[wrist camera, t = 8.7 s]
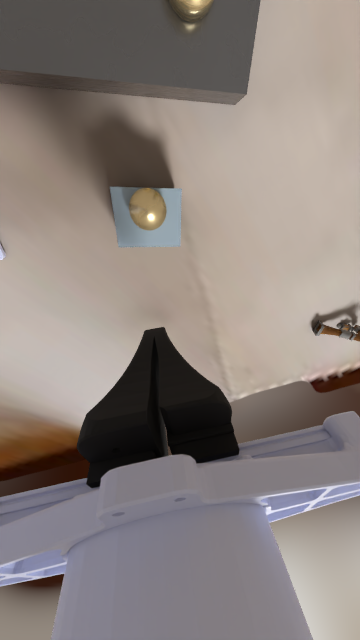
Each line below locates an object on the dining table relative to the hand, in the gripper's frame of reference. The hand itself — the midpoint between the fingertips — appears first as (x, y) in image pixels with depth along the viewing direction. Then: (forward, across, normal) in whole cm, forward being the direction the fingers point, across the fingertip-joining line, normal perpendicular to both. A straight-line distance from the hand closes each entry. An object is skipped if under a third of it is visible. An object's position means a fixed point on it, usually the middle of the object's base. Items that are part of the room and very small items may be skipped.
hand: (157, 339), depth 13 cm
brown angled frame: (+10, -26, +12) cm, 30 cm away
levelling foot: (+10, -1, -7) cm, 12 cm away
